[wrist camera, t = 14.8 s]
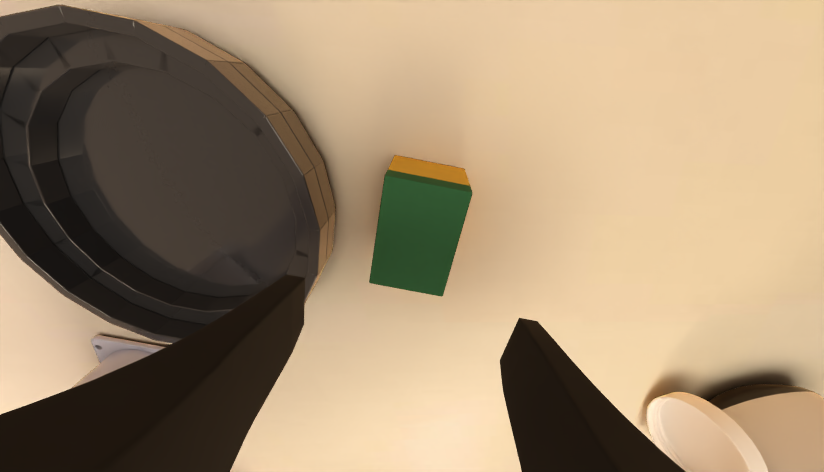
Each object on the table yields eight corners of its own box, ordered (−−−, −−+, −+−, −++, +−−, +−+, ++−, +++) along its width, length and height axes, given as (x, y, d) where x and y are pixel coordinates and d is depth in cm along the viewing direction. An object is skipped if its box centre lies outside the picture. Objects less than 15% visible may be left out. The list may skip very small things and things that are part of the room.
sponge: (441, 258, 20) (442, 296, 17) (380, 246, 20) (369, 283, 16) (464, 168, 17) (472, 192, 14) (394, 154, 17) (384, 175, 14)
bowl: (328, 330, 24) (313, 369, 21) (89, 286, 23) (35, 319, 20) (350, 63, 15) (328, 60, 12) (-25, -15, 15) (-148, -39, 12)
